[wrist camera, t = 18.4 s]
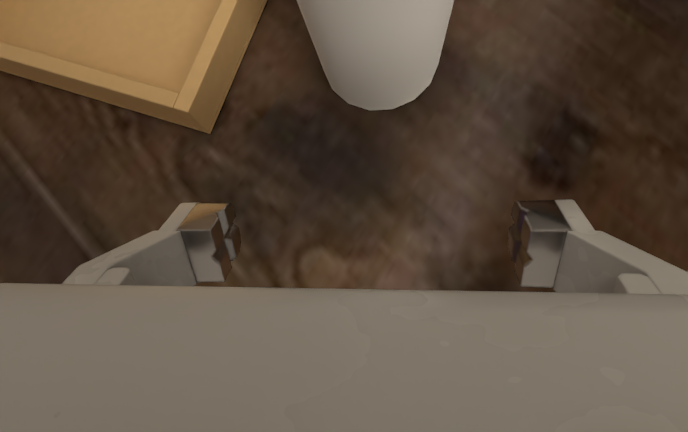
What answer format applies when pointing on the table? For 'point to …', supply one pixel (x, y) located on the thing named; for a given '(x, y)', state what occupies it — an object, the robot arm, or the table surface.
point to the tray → (133, 51)
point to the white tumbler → (377, 47)
